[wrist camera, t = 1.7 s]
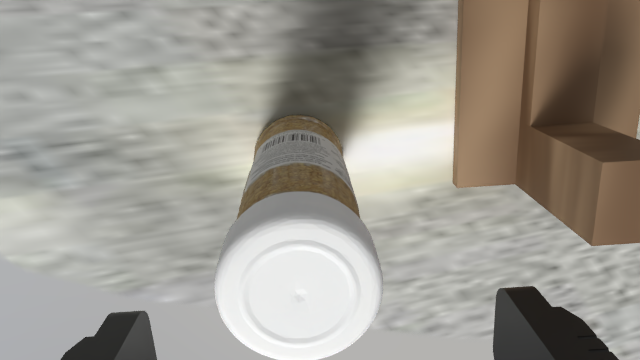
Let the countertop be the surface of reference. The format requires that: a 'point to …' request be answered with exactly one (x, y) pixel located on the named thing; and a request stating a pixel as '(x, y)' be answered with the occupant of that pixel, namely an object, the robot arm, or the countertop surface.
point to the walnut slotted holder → (553, 108)
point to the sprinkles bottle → (298, 249)
